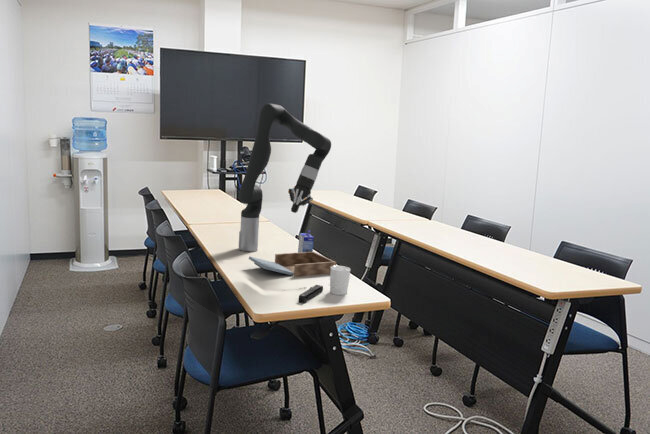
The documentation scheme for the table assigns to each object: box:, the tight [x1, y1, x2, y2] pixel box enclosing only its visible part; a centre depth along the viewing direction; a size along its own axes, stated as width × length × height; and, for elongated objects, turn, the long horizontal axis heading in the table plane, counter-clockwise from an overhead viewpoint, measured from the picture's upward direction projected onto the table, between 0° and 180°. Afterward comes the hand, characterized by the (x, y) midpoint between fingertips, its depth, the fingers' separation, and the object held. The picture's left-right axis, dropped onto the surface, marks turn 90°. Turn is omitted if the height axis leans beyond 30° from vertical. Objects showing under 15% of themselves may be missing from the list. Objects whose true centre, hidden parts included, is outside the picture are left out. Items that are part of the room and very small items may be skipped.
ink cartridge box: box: [297, 229, 315, 253], centre depth 256 cm, size 10×6×14 cm, turn 15°
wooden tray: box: [274, 251, 337, 278], centre depth 233 cm, size 20×20×6 cm
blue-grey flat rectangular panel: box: [248, 256, 294, 276], centre depth 224 cm, size 2×17×14 cm
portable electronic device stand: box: [297, 284, 324, 305], centre depth 200 cm, size 18×3×3 cm, turn 157°
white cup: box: [329, 265, 351, 296], centre depth 207 cm, size 8×8×10 cm
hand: (293, 212), depth 238 cm, fingers closed
